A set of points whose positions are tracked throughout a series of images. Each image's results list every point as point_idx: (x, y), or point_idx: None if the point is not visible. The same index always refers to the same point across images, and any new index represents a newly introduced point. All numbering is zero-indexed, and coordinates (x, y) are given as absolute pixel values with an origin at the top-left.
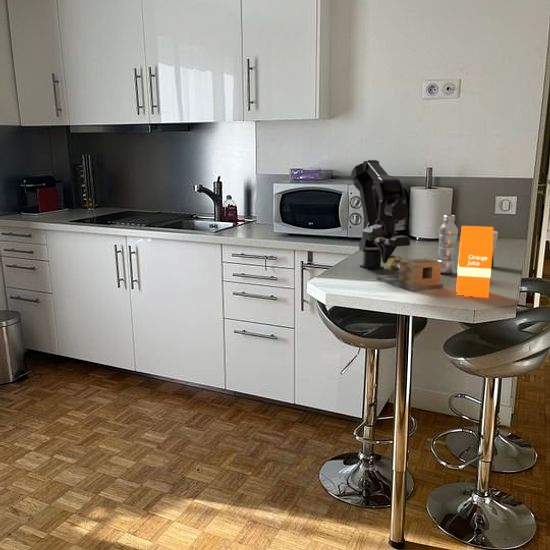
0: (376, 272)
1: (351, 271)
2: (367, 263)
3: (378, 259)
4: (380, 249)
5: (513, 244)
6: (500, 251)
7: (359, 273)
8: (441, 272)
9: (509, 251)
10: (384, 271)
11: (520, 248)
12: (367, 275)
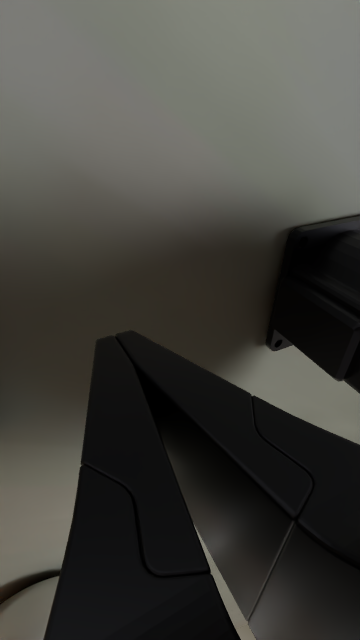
0: (200, 249)
1: (350, 4)
2: (355, 250)
3: (323, 344)
4: (302, 466)
5: None
6: None
7: (243, 28)
8: (9, 600)
9: (237, 621)
10: (201, 323)
11: (245, 625)
12: (115, 57)
